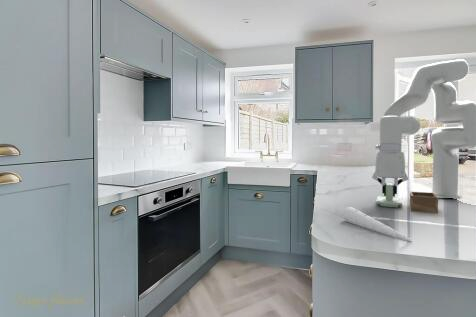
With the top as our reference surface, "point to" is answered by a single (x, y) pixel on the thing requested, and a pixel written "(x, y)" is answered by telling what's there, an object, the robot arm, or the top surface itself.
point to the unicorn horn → (370, 223)
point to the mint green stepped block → (389, 198)
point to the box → (423, 202)
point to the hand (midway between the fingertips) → (389, 195)
